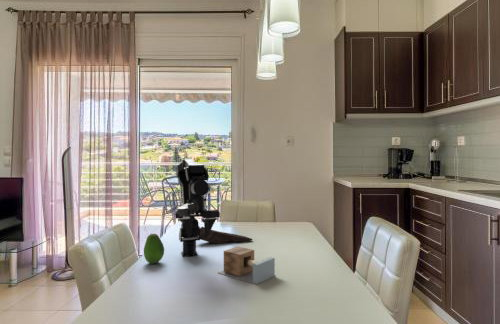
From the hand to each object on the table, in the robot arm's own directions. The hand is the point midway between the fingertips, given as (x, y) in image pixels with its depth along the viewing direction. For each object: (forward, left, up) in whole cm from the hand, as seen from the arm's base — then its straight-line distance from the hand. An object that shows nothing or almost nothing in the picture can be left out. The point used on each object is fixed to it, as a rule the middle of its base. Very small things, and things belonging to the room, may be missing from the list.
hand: (197, 237), depth 136 cm
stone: (-37, +18, -12) cm, 43 cm away
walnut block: (+10, +14, -12) cm, 21 cm away
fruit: (-11, -16, -12) cm, 23 cm away
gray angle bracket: (+12, +16, -12) cm, 23 cm away
